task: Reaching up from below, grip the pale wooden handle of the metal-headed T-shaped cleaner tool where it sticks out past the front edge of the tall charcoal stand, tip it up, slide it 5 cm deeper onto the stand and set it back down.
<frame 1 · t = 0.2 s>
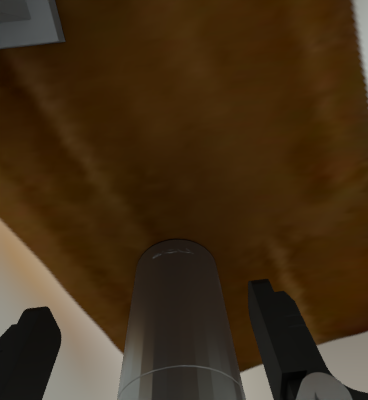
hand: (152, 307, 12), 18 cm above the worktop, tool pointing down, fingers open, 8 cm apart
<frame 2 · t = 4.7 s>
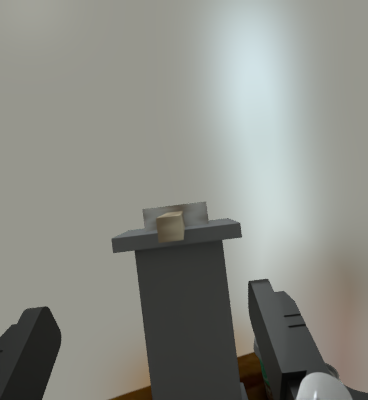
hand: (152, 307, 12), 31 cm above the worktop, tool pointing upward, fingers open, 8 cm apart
cleaner tool: (175, 231, 39), point 31 cm above the worktop, touching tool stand
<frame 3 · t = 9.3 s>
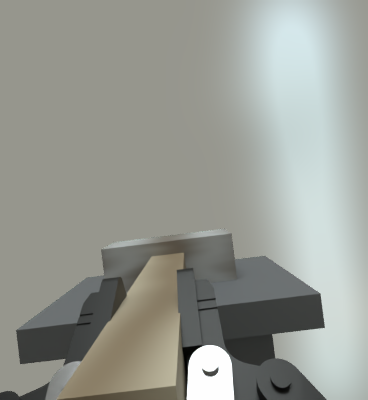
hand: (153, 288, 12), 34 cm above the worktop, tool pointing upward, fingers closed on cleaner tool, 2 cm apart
cleaner tool: (166, 318, 16), point 31 cm above the worktop, touching gripper, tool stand
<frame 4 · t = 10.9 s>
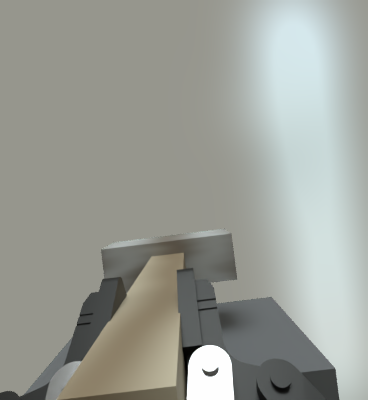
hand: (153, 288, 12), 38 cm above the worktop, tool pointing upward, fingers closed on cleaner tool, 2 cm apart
cleaner tool: (165, 319, 16), point 35 cm above the worktop, touching gripper
when the fingers open (34 cm above the worktop, at t = 12.8 s): cleaner tool stays where it is, resting on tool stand.
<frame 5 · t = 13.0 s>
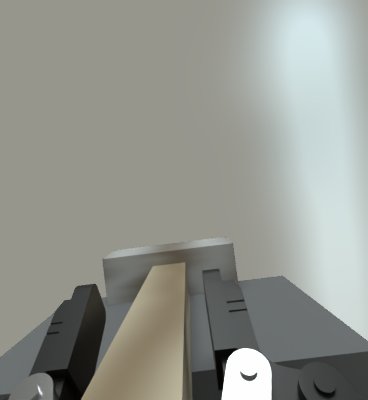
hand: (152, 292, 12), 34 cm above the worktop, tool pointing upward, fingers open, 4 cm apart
cleaner tool: (167, 332, 16), point 31 cm above the worktop, touching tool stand
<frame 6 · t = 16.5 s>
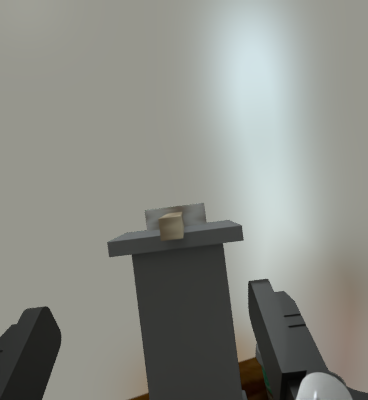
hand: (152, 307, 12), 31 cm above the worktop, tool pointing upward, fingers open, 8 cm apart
cleaner tool: (175, 230, 42), point 31 cm above the worktop, touching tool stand
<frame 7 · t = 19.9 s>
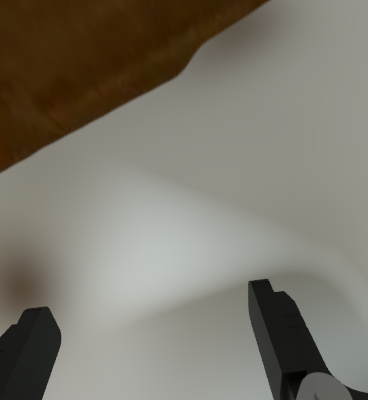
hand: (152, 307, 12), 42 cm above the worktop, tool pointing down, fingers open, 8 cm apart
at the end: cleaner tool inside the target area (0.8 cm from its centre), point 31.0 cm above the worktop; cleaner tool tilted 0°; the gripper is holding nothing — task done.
